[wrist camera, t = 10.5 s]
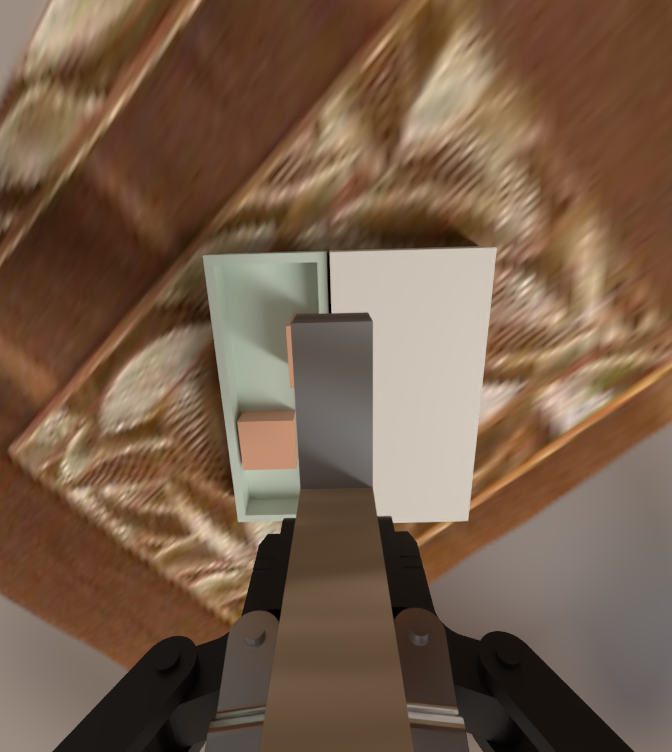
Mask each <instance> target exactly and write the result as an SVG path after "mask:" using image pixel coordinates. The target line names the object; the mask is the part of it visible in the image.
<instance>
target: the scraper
mask: <svg viewBox="0 0 672 752" xmlns="http://www.w3.org/2000/svg"><path fill="white" fill-rule="evenodd" d="M290 324H291V341H292V357H293V374H294V391H295V408H296V424H297V441H298V458H299V475H300V495H299V501H298V507H297V514H296V520H295V526H294V533H293V539H292V546H291V552H290V558H289V565H288V571H287V577H286V584H285V590H284V597H283V603H282V609H281V616H280V622H279V628H278V635H277V641H276V647H275V654H274V660H273V667H272V673H271V679H270V686H269V692H268V698H267V705H266V711H265V717H264V724H263V730H262V737H261V743H260V749H259V752H414V749H413V743H412V736H411V730H410V723H409V717H408V711H407V704H406V698H405V691H404V685H403V678H402V672H401V666H400V659H399V653H398V646H397V640H396V633H395V627H394V621H393V614H392V608H391V601H390V595H389V588H388V582H387V576H386V569H385V563H384V556H383V550H382V543H381V537H380V531H379V524H378V518H377V511H376V505H375V498H374V492H373V321H372V319H371V317H370V315H369V313H368V312H363V313H325V314H297V315H296V316H295V318H294V319H293V320H292V322H291V323H290Z"/></svg>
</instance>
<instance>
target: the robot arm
mask: <svg viewBox="0 0 672 752" xmlns="http://www.w3.org/2000/svg"><path fill="white" fill-rule="evenodd" d="M377 518H378V524H379V531H380V537H381V543H382V550H383V556H384V563H385V569H386V576H387V582H388V588H389V595H390V601H391V608H392V614H393V621H394V627H395V633H396V640H397V646H398V653H399V659H400V666H401V672H402V678H403V685H404V691H405V698H406V704H407V711H408V717H409V723H410V730H411V736H412V743H413V749H414V752H469V747H468V741H467V734H466V732H468V733H470V734H472V735H473V737H474V739H475V740H476V742H477V743H478V745H479V746H480V748H481V749H482V751H483V752H634V751H633V750H632V749H631V748H630V747H629V746H628V745H627V744H626V743H625V742H624V741H623V740H622V739H621V738H620V737H619V736H618V735H617V734H616V733H615V732H614V731H613V730H612V729H611V728H610V727H609V726H608V725H607V724H606V723H605V722H604V721H603V720H602V719H601V718H600V717H599V716H598V715H597V714H596V713H595V712H594V711H593V710H592V709H591V708H590V707H589V706H588V705H587V704H586V703H585V702H584V701H583V700H582V699H581V698H580V697H579V696H578V695H577V694H576V693H575V692H574V691H573V690H572V689H571V688H570V687H569V686H568V685H567V684H566V683H565V682H564V681H563V680H562V679H561V678H560V677H559V676H558V675H557V674H556V673H555V672H554V671H553V670H552V669H551V668H550V667H549V666H548V665H547V664H546V663H545V662H544V661H543V660H542V659H541V658H539V656H538V655H537V654H536V653H535V652H534V651H533V650H532V649H531V648H530V647H529V646H528V645H527V644H526V643H524V642H523V641H522V640H521V639H519V638H518V637H516V636H514V635H512V634H509V633H506V632H501V631H494V632H490V633H488V634H486V635H485V636H484V637H483V638H482V639H481V641H479V640H476V639H473V638H469V637H466V636H463V635H460V634H457V633H455V632H453V631H451V630H450V629H449V628H447V627H446V626H445V625H444V624H443V623H442V622H441V621H440V620H439V618H438V617H437V615H436V613H435V610H434V607H433V603H432V599H431V595H430V591H429V587H428V584H427V580H426V576H425V572H424V569H423V564H422V561H421V558H420V553H419V549H418V545H417V542H416V541H415V540H414V538H413V537H412V536H411V535H410V534H409V532H408V531H400V532H395V531H394V526H393V521H392V517H391V516H377ZM295 520H296V518H284V519H283V522H282V528H281V533H280V534H268V535H267V536H266V537H265V538H264V540H263V541H262V542H261V544H260V545H259V548H258V552H257V556H256V561H255V564H254V568H253V572H252V576H251V580H250V584H249V588H248V593H247V597H246V601H245V605H244V609H243V613H242V616H241V617H240V618H239V619H238V620H237V621H236V622H235V623H234V624H233V626H232V627H231V629H230V632H228V633H227V634H225V635H224V636H222V637H220V638H218V639H216V640H213V641H210V642H207V643H204V644H201V645H198V646H195V644H194V643H193V641H192V640H190V639H189V638H187V637H183V636H173V637H169V638H166V639H164V640H162V641H160V642H159V643H157V644H156V645H154V646H153V647H152V648H151V649H150V650H149V651H148V652H147V653H146V654H145V655H144V656H143V657H142V658H141V659H140V660H139V661H138V663H137V664H136V665H135V666H134V667H133V668H132V669H131V670H130V671H129V672H128V673H127V674H126V675H125V676H124V677H123V678H122V679H121V680H120V681H119V682H118V684H117V685H116V686H115V687H114V688H113V689H112V690H111V691H110V692H109V693H108V694H107V695H106V696H105V697H104V698H103V699H102V700H101V701H100V702H99V703H98V705H96V707H95V708H94V709H93V710H92V711H91V712H90V713H89V714H88V715H87V716H86V717H85V718H84V719H83V720H82V721H81V722H80V724H78V726H77V727H76V728H75V729H74V730H73V731H72V732H71V733H70V734H69V735H68V736H67V737H66V738H65V739H64V740H63V741H62V742H61V743H60V744H59V745H58V747H56V749H55V750H54V751H53V752H199V751H200V750H201V748H202V747H203V746H204V744H205V742H206V746H205V752H259V749H260V743H261V737H262V730H263V724H264V717H265V711H266V705H267V698H268V692H269V686H270V679H271V673H272V667H273V660H274V654H275V647H276V641H277V635H278V628H279V622H280V616H281V609H282V603H283V597H284V590H285V584H286V577H287V571H288V565H289V558H290V552H291V546H292V539H293V533H294V526H295Z"/></svg>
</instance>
